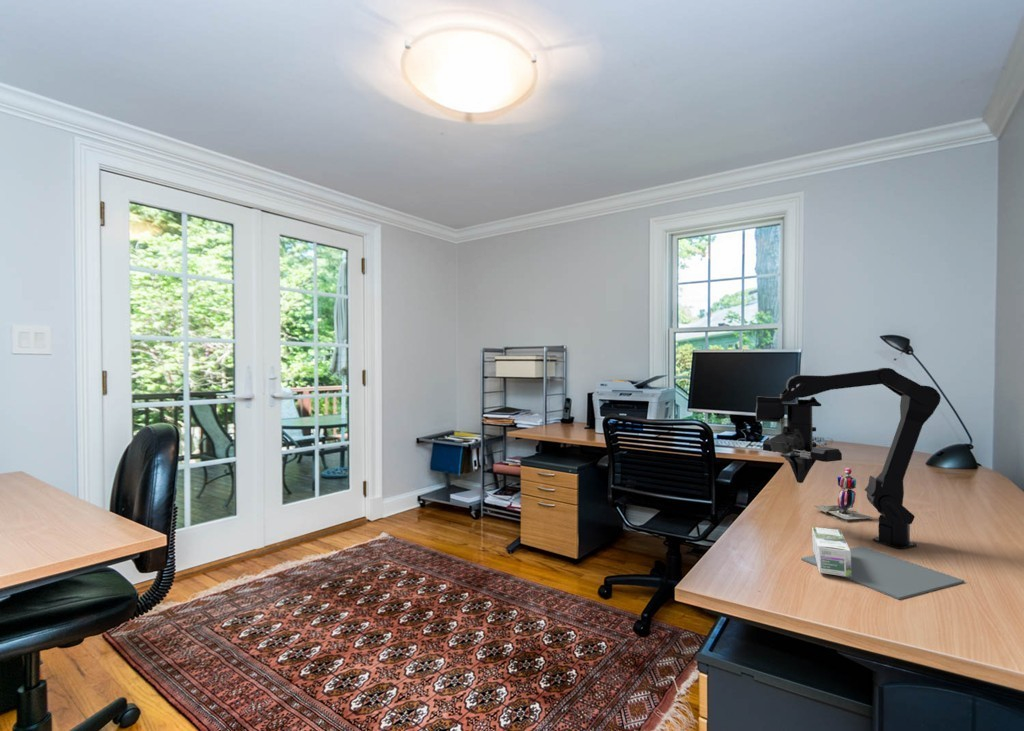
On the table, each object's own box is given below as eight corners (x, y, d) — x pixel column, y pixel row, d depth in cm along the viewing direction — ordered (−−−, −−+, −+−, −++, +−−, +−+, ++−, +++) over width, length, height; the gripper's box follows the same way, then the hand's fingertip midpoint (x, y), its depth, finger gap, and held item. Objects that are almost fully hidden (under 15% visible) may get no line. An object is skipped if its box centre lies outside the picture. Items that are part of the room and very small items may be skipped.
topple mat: (862, 547, 116) (862, 545, 116) (964, 582, 97) (964, 580, 97) (801, 559, 109) (801, 558, 109) (898, 599, 90) (898, 597, 90)
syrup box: (812, 550, 113) (819, 574, 100) (811, 525, 113) (818, 546, 100) (841, 554, 111) (852, 579, 98) (840, 528, 111) (851, 550, 98)
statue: (872, 524, 136) (879, 473, 135) (844, 526, 134) (851, 474, 133) (838, 508, 147) (844, 460, 145) (812, 510, 145) (818, 461, 143)
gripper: (747, 420, 133) (747, 477, 133) (810, 428, 115) (810, 494, 115) (777, 419, 136) (778, 474, 136) (843, 426, 119) (843, 490, 119)
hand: (800, 482), depth 127 cm, fingers closed
